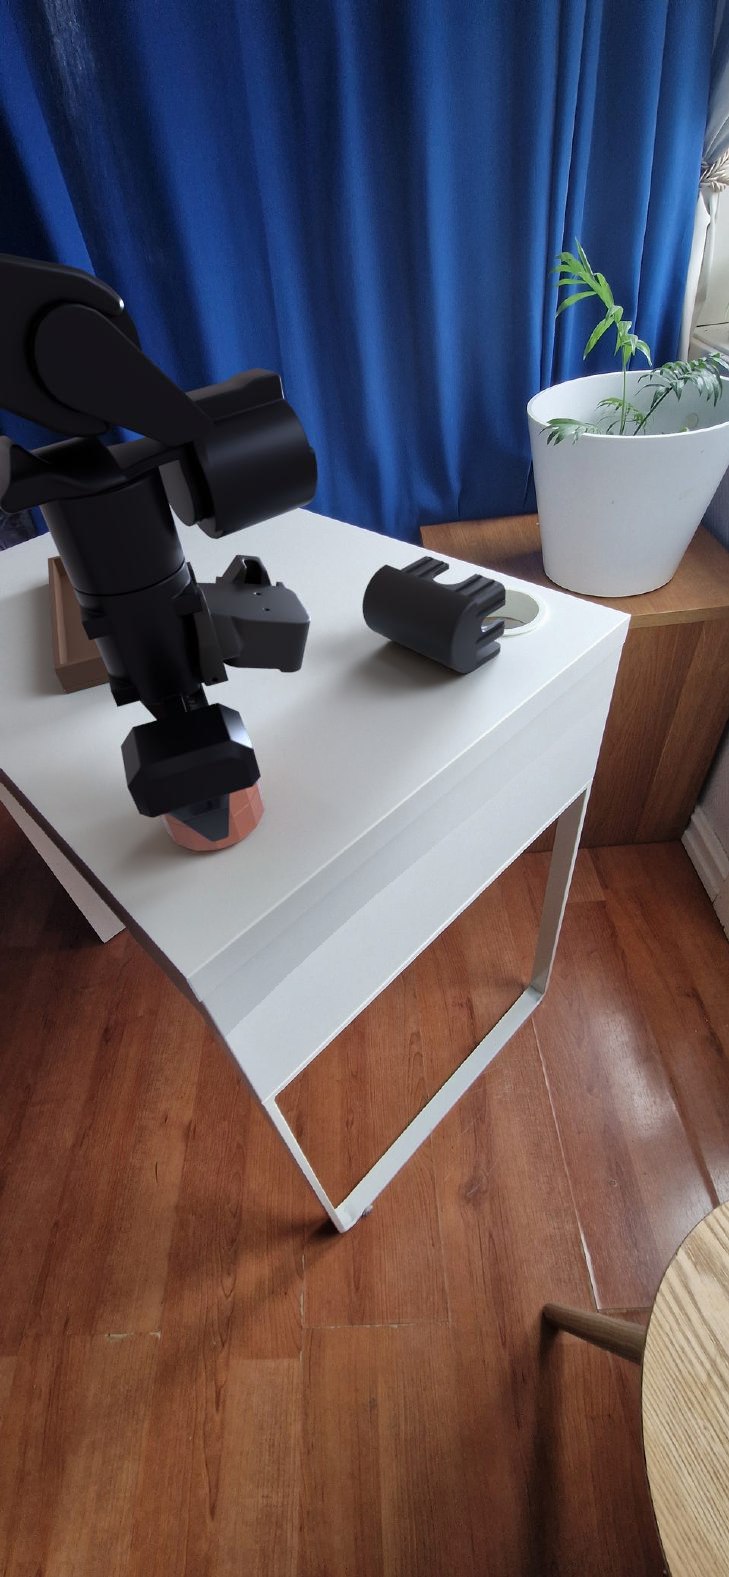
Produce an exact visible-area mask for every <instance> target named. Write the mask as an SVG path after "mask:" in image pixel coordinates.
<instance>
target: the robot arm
mask: <svg viewBox="0 0 729 1577" xmlns="http://www.w3.org/2000/svg"><path fill="white" fill-rule="evenodd" d="M281 378H282V377H281V375H279V373H277V372H275V371H272V370H268V369H264V368H261V367H253V368H251V369H247V370H243V371H240V372H238V373H235V374H234V375H232V376H231V377H229V378H228V379H227V380H223V381H221V382H218V383H214V384H211V385H207V386H204V387H201V388H196V389H193V390H190V391H185V392H184V390H183V389H182V388H181V387H179V385H177V384H176V383H175V382H174V380H172V379H171V378H170V377H169V376H168V375H167V374H166V373H165V372H163V370H162V369H161V368H160V367H159V366H158V365H156V364H155V362H154V361H152V360H151V359H150V358H149V357H148V356H147V355H146V354H145V352H144V351H143V349H142V345H141V341H140V337H139V334H138V329H137V327H136V325H135V323H134V321H133V319H132V317H131V315H130V314H129V312H128V310H127V309H126V307H125V305H124V301H123V299H122V297H121V296H120V295H119V294H118V293H117V292H116V291H115V290H114V289H113V288H112V287H111V286H110V285H108V283H106V282H104V281H103V280H101V279H99V278H98V277H96V276H95V275H93V274H91V273H89V272H88V271H86V270H84V269H82V268H77V267H74V266H71V265H67V264H61V263H57V262H51V261H45V260H40V259H36V258H35V259H34V258H29V257H24V256H21V255H20V256H19V255H14V254H9V253H4V252H0V409H1V410H3V411H5V412H7V413H10V414H13V415H15V416H17V417H19V418H22V419H24V420H26V421H28V422H31V423H33V424H35V425H38V426H40V427H42V428H45V429H47V430H48V431H52V432H54V433H56V434H60V435H62V436H66V437H69V439H65V440H62V441H60V442H59V441H58V442H55V443H52V444H48V445H45V446H42V447H39V448H36V449H28V448H25V447H23V446H21V445H20V444H19V443H18V442H16V441H14V440H13V439H12V438H10V437H8V436H7V435H0V510H1V511H2V512H4V513H6V514H7V515H15V514H18V513H22V512H24V511H27V510H30V509H33V508H37V507H39V509H40V512H41V514H42V516H43V519H44V521H45V523H46V526H47V528H48V531H49V534H50V536H51V538H52V540H53V543H54V545H55V548H56V551H57V553H58V556H60V557H61V560H62V562H63V565H64V567H65V569H66V572H67V574H68V577H69V579H70V581H71V584H72V586H73V589H74V591H75V593H76V596H77V598H78V601H79V605H80V613H81V621H82V624H83V627H84V629H85V631H86V634H87V636H88V639H89V640H93V639H95V641H96V644H97V646H98V649H99V651H100V653H101V656H102V658H103V661H104V663H105V665H106V668H107V670H108V677H109V682H108V683H109V688H110V693H111V696H112V698H113V700H114V702H115V705H116V707H117V708H119V707H123V706H126V705H130V704H133V703H137V702H140V703H141V704H142V705H143V706H144V708H145V709H146V710H147V711H148V712H149V713H150V715H152V717H153V718H154V719H155V720H152V721H148V722H145V723H142V724H138V725H135V726H132V727H131V729H130V730H129V732H128V734H127V735H126V736H125V738H124V740H123V742H122V743H121V745H120V750H121V756H122V762H123V763H122V764H123V768H124V774H125V780H126V786H127V789H128V791H129V793H130V796H131V799H132V801H133V802H134V806H135V807H136V809H137V811H138V814H139V815H140V816H141V815H142V816H145V817H148V818H151V819H153V818H157V817H161V816H160V815H163V814H168V815H170V816H172V817H174V818H175V819H177V820H178V821H180V822H182V823H183V824H185V825H186V826H188V827H190V828H191V829H193V830H194V831H196V832H197V833H199V834H200V835H202V836H203V837H205V838H206V839H208V840H209V841H211V842H216V841H219V840H222V839H225V838H227V837H228V836H229V812H230V794H231V793H234V792H237V791H240V790H243V789H246V788H250V787H253V786H254V784H255V783H256V782H257V781H258V782H259V780H260V778H261V777H262V775H261V772H260V767H259V764H258V760H257V756H256V752H255V749H254V746H253V743H252V742H251V739H250V737H249V734H248V731H247V729H246V726H245V724H244V722H243V718H242V716H241V713H240V711H239V710H236V709H233V708H231V707H229V706H227V705H225V704H222V703H220V702H214V703H212V704H209V701H208V698H207V695H206V692H205V689H204V686H205V687H211V686H216V685H219V684H222V683H225V682H229V677H228V673H227V670H226V669H227V668H226V667H225V665H226V666H228V667H231V668H236V669H261V670H262V669H263V670H278V671H280V672H281V673H285V674H288V673H289V674H292V673H296V672H299V671H300V670H301V669H302V667H303V666H302V665H303V661H304V656H305V650H306V646H307V641H308V635H309V631H310V625H311V620H312V617H311V615H310V614H309V612H308V610H307V609H306V607H305V606H304V604H303V603H302V600H301V599H300V598H299V596H298V594H297V593H296V592H294V590H292V589H290V588H288V587H286V585H285V584H284V582H283V581H276V582H275V585H272V584H273V583H272V580H271V578H270V576H269V572H268V570H267V568H266V566H265V564H264V562H263V561H262V560H261V557H260V556H255V555H246V554H236V555H235V556H234V557H233V559H232V561H231V562H230V564H229V565H228V566H227V568H226V569H225V571H224V573H223V574H222V575H221V576H216V577H215V582H197V577H196V574H195V571H194V568H193V564H192V563H191V561H187V560H186V557H185V553H184V550H183V547H182V542H181V539H180V536H179V533H178V529H177V525H176V523H175V518H174V515H173V513H174V514H175V515H176V517H177V518H178V519H179V521H180V522H181V523H182V524H184V526H186V527H190V528H191V527H193V526H198V528H199V529H200V530H201V531H202V532H203V533H204V534H205V535H206V536H207V537H208V538H210V539H213V540H219V539H221V538H224V537H227V536H229V535H232V534H235V533H237V532H240V531H242V530H245V529H247V528H250V527H253V526H255V525H259V524H261V523H263V522H266V521H268V520H271V519H274V518H276V517H279V516H282V515H285V514H287V513H289V512H292V511H295V510H298V509H300V508H302V507H305V506H307V505H309V504H311V503H312V501H313V500H314V498H315V495H316V493H317V489H318V479H319V473H318V462H317V456H316V452H315V449H314V448H313V446H311V445H310V443H309V440H308V436H307V434H306V431H305V429H304V427H303V424H302V422H301V420H300V419H299V417H298V415H297V413H296V412H295V410H294V409H293V407H292V406H291V405H290V404H289V402H288V401H287V399H285V397H284V392H283V385H282V379H281ZM115 426H117V427H119V428H122V429H124V430H127V431H129V432H132V433H134V434H137V435H139V436H142V437H140V438H137V439H134V440H130V441H127V442H123V443H119V444H114V445H108V446H107V445H106V444H105V442H103V441H102V440H101V439H100V438H99V437H101V436H105V435H106V434H108V432H109V431H110V430H111V429H113V428H114V427H115ZM172 511H173V513H172ZM203 684H204V686H203Z"/></svg>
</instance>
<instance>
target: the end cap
mask: <svg viewBox="0 0 729 1577" xmlns="http://www.w3.org/2000/svg"><path fill="white" fill-rule="evenodd" d="M448 570H450V564H449V563H447V562H445V561H443V560H439V559H436V558H434V557H432V556H428V555H425V556H423V557H420V558H419V559H418V560H415V561H414V562H412V563H410V564H408V565H407V566H404V567H403V568H401V569H400V568H397V567H394V566H391V565H388V564H384V565H382V566H381V567H380V568H378V569H377V571H375V573H374V574H373V575H372V577H371V578H370V580H369V581H368V583H367V585H366V588H365V590H364V594H363V597H362V604H361V605H362V606H361V607H362V609H361V610H362V616H363V620H364V622H365V624H366V626H367V627H368V628H369V629H370V630H372V631H373V632H375V633H376V634H379V635H381V636H382V637H384V638H387V639H389V640H391V641H393V642H395V643H396V644H399V645H401V646H404V647H405V648H407V649H409V650H412V651H414V652H416V653H418V654H420V655H422V656H424V657H426V658H429V659H431V660H433V661H435V662H437V663H439V664H442V665H443V666H445V667H448V668H449V669H452V670H454V671H456V672H458V673H460V674H461V673H462V674H465V675H466V674H470V673H472V672H474V671H475V670H477V669H479V668H481V666H483V665H484V664H486V663H488V662H489V661H490V660H492V659H493V658H495V657H496V656H498V655H499V654H500V653H501V643H500V642H498V641H496V640H497V639H499V638H500V637H501V636H503V635H504V633H505V628H506V625H505V618H503V617H500V618H498V619H496V620H494V621H493V622H492V623H490V624H489V625H484V624H483V623H484V621H485V619H486V618H487V617H489V616H490V615H492V614H493V613H495V612H496V611H498V610H500V609H501V608H503V607H504V606H506V602H507V599H506V594H507V593H506V592H507V591H506V587H505V585H504V584H503V583H502V582H500V581H498V580H495V579H493V578H489V577H486V576H484V575H482V574H480V573H479V574H478V573H474V574H473V575H471V576H469V577H468V578H466V579H464V580H463V581H459V582H456V583H442V582H441V583H440V582H438V581H436V580H435V578H436V577H438V576H440V575H441V574H443V573H445V572H446V571H448Z"/></svg>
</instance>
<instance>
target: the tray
mask: <svg viewBox="0 0 729 1577" xmlns="http://www.w3.org/2000/svg"><path fill="white" fill-rule="evenodd" d="M47 568H48V569H47V570H48V571H47V572H48V588H49V603H50V604H49V605H50V618H51V619H50V620H51V623H50V624H51V636H52V640H51V641H52V653H53V654H52V656H53V670H54V672H55V674H56V676H57V678H58V681H59V683H60V685H61V687H62V689H63V691H64V693H65V694H71V693H75V692H78V691H82V690H86V689H89V688H92V687H96V686H100V685H104V684H107V683H109V677H108V670H107V668H106V665H105V663H104V661H103V658H102V656H101V653H100V651H99V649H98V646H97V644H96V641H95V639H93V640H89V639H88V636H87V634H86V631H85V629H84V627H83V624H82V621H81V613H80V605H79V601H78V598H77V596H76V593H75V591H74V589H73V586H72V584H71V581H70V579H69V577H68V574H67V572H66V569H65V567H64V565H63V562H62V560H61V557H60V555H56V556H53V557H47Z"/></svg>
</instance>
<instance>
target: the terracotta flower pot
mask: <svg viewBox="0 0 729 1577" xmlns="http://www.w3.org/2000/svg"><path fill="white" fill-rule="evenodd" d="M264 812H265V804H264V796H263V793H262V789H261V784H260V782H259V780H258V781H257V782H256V783H255V784H254V786H253V787H250V788H246V789H243V790H240V791H237V792H234V793H231V794H230V812H229V836H228V837H227V838H225V839H222V840H219V841H216V842H211V841H209V840H208V839H206V838H205V837H203V836H202V835H200V834H199V833H197V832H196V831H194V830H193V829H191V828H190V827H188V826H186V825H185V824H183V823H182V822H180V821H178V820H177V819H175V818H174V817H172V816H170V815H168V814H163V815H160V816H159V817H160V818H161V820H162V823H163V825H164V827H165V831H166V832H167V833H168V835H169V836H170V838H171V839H172V840H173V842H174V843H175V844H176V845H178V846H181V847H183V848H187V849H189V850H192V851H195V852H196V851H197V852H198V851H216V850H222V849H225V848H228V847H231V846H233V845H235V844H237V843H239V842H241V841H242V840H243V839H245V838H246V837H247V836H248V835H249V834H250V833H252V832H254V830H255V829H257V827H258V825H259V823H260V821H261V819H262V817H263V815H264V814H265V813H264Z"/></svg>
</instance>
